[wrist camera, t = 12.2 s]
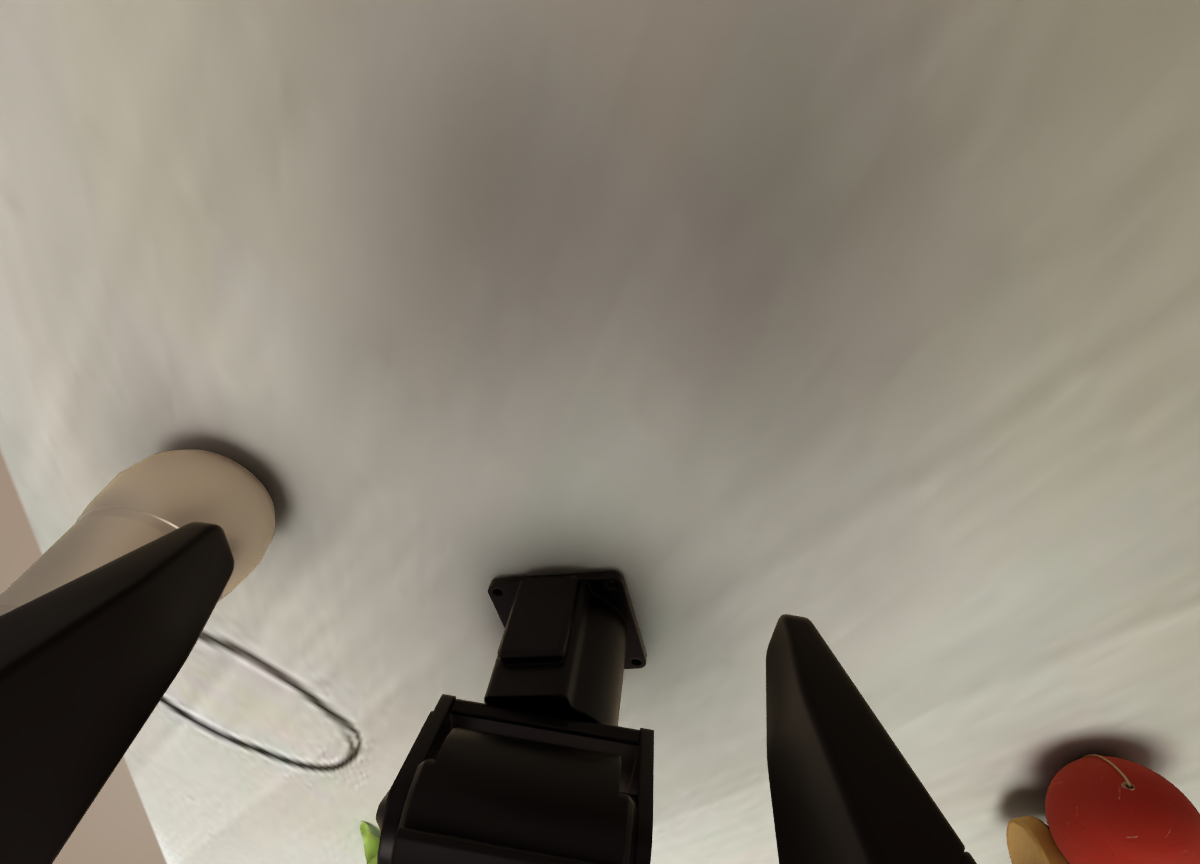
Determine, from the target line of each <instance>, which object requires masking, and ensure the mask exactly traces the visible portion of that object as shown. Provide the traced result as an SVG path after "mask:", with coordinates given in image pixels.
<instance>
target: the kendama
mask: <svg viewBox="0 0 1200 864" xmlns="http://www.w3.org/2000/svg"><path fill="white" fill-rule="evenodd" d="M1045 811H1046V818H1047V822H1048V826H1047V825H1046V824H1044V823H1043V822H1042V821H1040V820H1039V819H1037V818H1035V817H1031V816H1024V817H1018V818H1014V819H1011V820H1010V821H1009V823H1008V826H1007V834H1006V835H1007V845H1008V850H1009V854H1010V858H1011V861H1012V864H1200V814H1199V812H1198V811H1197V809H1196V808H1195V807H1194V806H1193V804H1192V803H1191V802H1190V801H1189V800H1188V799H1187V797H1186V796H1185V795H1184V794H1183V793H1182V792H1181V791H1180V790H1179V789H1178V788H1176V787H1175V786H1174V785H1173V784H1172V783H1170V782H1169V781H1168V780H1166V779H1165V778H1164V777H1162V776H1161V775H1159V774H1157V773H1156V772H1154V771H1152V770H1150V769H1148V768H1146V767H1144V766H1142V765H1140V764H1137V763H1135V762H1132V761H1129V760H1125V759H1121V758H1117V757H1109V756H1100V755H1096V754H1089V755H1085V756H1083V757H1082V758H1081V759H1078V760H1075V761H1073V762H1071V763H1069V764H1067V765H1066V766H1064V767H1063V768H1062V769H1060V770H1059V771H1058V773H1057V774H1056V775H1055V776H1054V778H1053V779H1052V781H1051V783H1050V785H1049V787H1048V790H1047V794H1046V800H1045Z"/></svg>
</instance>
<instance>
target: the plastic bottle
mask: <svg viewBox="0 0 1200 864" xmlns="http://www.w3.org/2000/svg"><path fill="white" fill-rule="evenodd" d="M191 522H205V523H211V524H217V525H219V526H220V527H222V529H223V530H224V532H225V535H226V538H227V541H228V543H229V546H230V549H231V552H232V554H233V557H234V570H233V573H232V575H231V577H230V579H229V581H228V583H227V585H226V587H225V589H224V590H223V592H222V594H221V596H220V598H219V600H218V602H219V601H220V600H221V599H223V598H224V597H225V596H226V595H227V594H229V593H230V592H231V591H232V590H233V589H234V588H235V587H236V586H238V585H239V584H240V583H241V582H242V581H243V580H244V579H245V578H246V577H247V576H248V575H249V574H250V573H251V572H252V571H253V570H254V569H255V568H256V567H257V565H258V564H259V563H260V561H261V559H262V557H263V555H264V553H265V551H266V550H267V548H268V546H269V544H270V542H271V540H272V538H273V535H274V533H275V510H274V506H273V501H272V499H271V497H270V495H269V493H268V491H267V490H266V489H265V487H264V486H263V484H262V483H261V482H260V481H259V480H258V479H257V478H256V477H255V476H254V475H253V474H252V473H251V472H249V471H248V470H247V469H246V468H244V467H243V466H241V465H239V464H238V463H236V462H235V461H233V460H231V459H229V458H226V457H224V456H222V455H219V454H216V453H213V452H210V451H204V450H198V449H184V450H173V451H166V452H160V453H157V454H155V455H152V456H150V457H148V458H146V459H144V460H143V461H141V462H139V463H137V464H135V465H134V466H132V467H130V468H128V469H126V470H124V471H123V472H121V473H119V474H118V475H117V476H116V477H115V478H114V479H113V480H112V481H111V482H110V483H109V484H108V485H107V486H106V487H105V488H104V489H103V490H102V491H101V492H100V493H99V494H98V495H97V496H96V497H95V498H94V499H93V501H92V502H91V503H90V504H89V505H88V506H87V508H86V509H85V510H84V511H83V513H82V514H81V515H80V516H79V518H78V519H77V522H76V524H75V525H74V526H72V527H71V528H70V529H69V530H68V531H67V532H66V533H65V534H64V535H63V536H62V537H61V538H60V539H59V540H58V541H57V542H56V543H55V544H54V545H53V546H52V547H50V548H49V549H48V550H47V551H46V552H45V553H44V554H43V555H42V556H41V557H40V558H39V559H38V560H37V561H36V562H35V563H34V564H33V565H32V566H31V567H30V568H29V569H28V570H27V571H26V572H24V573H23V574H22V575H21V576H20V577H19V578H18V579H17V580H16V581H15V582H14V583H13V584H12V585H11V586H10V587H9V588H8V589H7V590H5V591H4V592H3V593H1V594H0V616H1V615H3V614H5V613H7V612H9V611H11V610H13V609H15V608H18V607H20V606H22V605H24V604H26V603H28V602H30V601H32V600H34V599H36V598H38V597H40V596H42V595H44V594H46V593H48V592H50V591H52V590H54V589H56V588H58V587H60V586H62V585H64V584H66V583H68V582H70V581H72V580H74V579H76V578H78V577H80V576H82V575H84V574H87V573H89V572H91V571H93V570H95V569H97V568H99V567H101V566H103V565H105V564H107V563H109V562H111V561H113V560H115V559H117V558H119V557H121V556H123V555H125V554H127V553H129V552H131V551H133V550H135V549H137V548H139V547H141V546H143V545H145V544H147V543H149V542H151V541H154V540H156V539H158V538H160V537H162V536H164V535H166V534H168V533H170V532H172V531H174V530H176V529H178V528H180V527H182V526H184V525H186V524H188V523H191ZM218 602H217V603H218Z"/></svg>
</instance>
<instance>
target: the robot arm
mask: <svg viewBox="0 0 1200 864" xmlns="http://www.w3.org/2000/svg"><path fill="white" fill-rule="evenodd" d="M233 570H234V557H233V554H232V552H231V549H230V546H229V543H228V541H227V538H226V535H225V532H224V530H223V529H222V527H220V526H219V525H217V524H211V523H205V522H191V523H188V524H186V525H184V526H182V527H180V528H178V529H176V530H174V531H172V532H170V533H168V534H166V535H164V536H162V537H160V538H158V539H156V540H154V541H151V542H149V543H147V544H145V545H143V546H141V547H139V548H137V549H135V550H133V551H131V552H129V553H127V554H125V555H123V556H121V557H119V558H117V559H115V560H113V561H111V562H109V563H107V564H105V565H103V566H101V567H99V568H97V569H95V570H93V571H91V572H89V573H87V574H84V575H82V576H80V577H78V578H76V579H74V580H72V581H70V582H68V583H66V584H64V585H62V586H60V587H58V588H56V589H54V590H52V591H50V592H48V593H46V594H44V595H42V596H40V597H38V598H36V599H34V600H32V601H30V602H28V603H26V604H24V605H22V606H20V607H18V608H15V609H13V610H11V611H9V612H7V613H5V614H3V615H1V616H0V864H52V863H53V861H54V860H55V858H56V857H57V855H58V854H59V852H60V850H61V849H62V848H63V846H64V845H65V843H66V842H67V840H68V839H69V837H70V836H71V834H72V832H73V831H74V830H75V828H76V826H77V825H78V823H79V822H80V820H81V819H82V818H83V816H84V814H85V813H86V811H87V809H88V808H89V807H90V805H91V804H92V802H93V801H94V799H95V798H96V796H97V795H98V793H99V792H100V790H101V789H102V787H103V786H104V784H105V783H106V781H107V780H108V778H109V777H110V775H111V773H112V772H113V771H114V769H115V767H116V766H117V764H118V763H119V762H120V760H121V759H122V757H123V755H124V754H125V752H126V751H127V749H128V748H129V746H130V745H131V743H132V742H133V740H134V739H135V737H136V736H137V734H138V733H139V731H140V730H141V728H142V727H143V725H144V724H145V722H146V721H147V719H148V718H149V716H150V715H151V713H152V712H153V710H154V709H155V707H156V706H157V704H158V703H159V701H160V700H161V698H162V697H163V695H164V693H165V692H166V690H167V689H168V687H169V686H170V684H171V683H172V681H173V680H174V678H175V677H176V675H177V674H178V672H179V671H180V669H181V667H182V666H183V664H184V663H185V661H186V659H187V658H188V656H189V654H190V652H191V651H192V649H193V647H194V645H195V644H196V642H197V640H198V638H199V636H200V634H201V632H202V630H203V628H204V626H205V625H206V623H207V621H208V619H209V617H210V615H211V613H212V611H213V609H214V608H215V606H216V604H217V602H218V600H219V598H220V596H221V594H222V592H223V590H224V589H225V587H226V585H227V583H228V581H229V579H230V577H231V575H232V573H233ZM610 581H612V582H610ZM613 582H615V583H613ZM488 593H489V595H490V597H491V600H492V602H493V604H494V606H495V608H496V610H497V612H498V615H499V617H500V619H501V621H502V623H503V625H504V627H505V630H504V633H503V637H502V640H501V643H500V646H499V649H498V656H497V659H496V662H495V666H494V669H493V672H492V675H491V679H490V682H489V685H488V688H487V692H486V695H485V698H484V701H485V702H484V704H483V703H478V702H472V701H466V700H460V699H456V696H451V695H445V694H442V696H441V698H440V700H439V702H438V704H437V705H436V707H435V709H434V711H431V712H430V714H429V716H428V718H427V720H426V722H425V724H424V725H423V727H422V729H421V731H420V733H419V735H418V737H417V739H416V741H415V743H414V745H413V746H412V748H411V750H410V752H409V754H408V756H407V758H406V760H405V762H404V764H403V766H402V768H401V769H400V771H399V773H398V775H397V777H396V779H395V781H394V783H393V785H392V787H391V789H390V790H389V792H388V793H387V794H386V796H385V797H384V798H383V800H382V801H381V803H380V805H379V807H378V810H377V814H376V821H377V823H378V825H379V828H380V830H381V837H380V842H379V848H378V855H377V864H650V860H651V848H652V831H653V763H654V730H650V729H644V728H640V730H635V729H630V728H624V727H618V719H619V710H620V701H621V692H622V683H623V674H624V669H635V668H642V667H644V666H645V665H646V656H647V655H646V651H645V648H644V645H643V641H642V638H641V635H640V631H639V628H638V624H637V621H636V618H635V614H634V611H633V607H632V604H631V601H630V597H629V594H628V590H627V587H626V584H625V580H624V577H623V576H622V575H621V574H620V573H619V572H616V571H601V572H587V573H572V574H557V575H543V576H528V577H513V578H499V579H494V580H492V581H491V583H490V586H489V589H488ZM766 712H767V762H768V773H769V782H770V791H771V799H772V807H773V815H774V824H775V832H776V840H777V849H778V857H779V864H977V863H976V862H975V860H974V859H973V857H972V856H971V855H970V853H968V852H964V850H965V847H964V845H963V843H962V842H961V840H960V839H959V837H958V836H957V834H956V833H955V831H954V830H953V829H952V827H951V826H950V824H949V823H948V821H947V820H946V818H945V817H944V815H943V814H942V812H941V811H940V809H939V808H938V807H937V805H936V804H935V802H934V801H933V799H932V798H931V796H930V795H929V793H928V792H927V790H926V789H925V787H924V786H923V785H922V783H921V782H920V780H919V779H918V777H917V776H916V774H915V773H914V771H913V770H912V768H911V767H910V765H909V764H908V763H907V761H906V760H905V758H904V757H903V755H902V754H901V752H900V751H899V749H898V748H897V746H896V745H895V743H894V742H893V741H892V739H891V738H890V736H889V735H888V733H887V732H886V730H885V729H884V727H883V726H882V724H881V723H880V721H879V720H878V719H877V717H876V716H875V714H874V713H873V711H872V710H871V708H870V707H869V705H868V704H867V702H866V701H865V699H864V698H863V697H862V695H861V694H860V692H859V691H858V689H857V688H856V686H855V685H854V683H853V682H852V680H851V679H850V677H849V676H848V675H847V673H846V672H845V670H844V669H843V667H842V666H841V664H840V663H839V661H838V660H837V658H836V657H835V655H834V654H833V653H832V651H831V650H830V648H829V647H828V645H827V644H826V642H825V641H824V639H823V638H822V636H821V635H820V633H819V632H818V631H817V629H816V628H815V626H814V625H813V623H812V622H811V621H810V620H809V619H807V618H805V617H800V616H793V615H787V614H784V615H782V616H781V617H780V618H779V620H778V622H777V625H776V627H775V630H774V632H773V635H772V638H771V640H770V643H769V645H768V649H767V655H766Z"/></svg>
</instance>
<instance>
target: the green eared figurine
mask: <svg viewBox="0 0 1200 864" xmlns="http://www.w3.org/2000/svg"><path fill="white" fill-rule="evenodd" d="M360 830H361V834H362V836H363V839H364V847H365V856H366V860H367V864H377V855H378V848H379V842H380V839H378V838H377V837H375V836H374V835H373V834H372V833H371V831H370V829H369V827H368V825H367V824H366V823H365V822H362V823H361V825H360Z"/></svg>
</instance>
